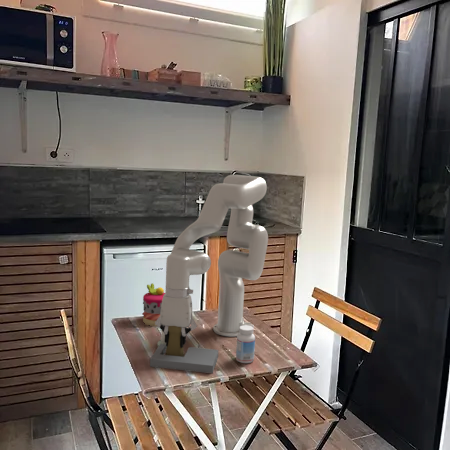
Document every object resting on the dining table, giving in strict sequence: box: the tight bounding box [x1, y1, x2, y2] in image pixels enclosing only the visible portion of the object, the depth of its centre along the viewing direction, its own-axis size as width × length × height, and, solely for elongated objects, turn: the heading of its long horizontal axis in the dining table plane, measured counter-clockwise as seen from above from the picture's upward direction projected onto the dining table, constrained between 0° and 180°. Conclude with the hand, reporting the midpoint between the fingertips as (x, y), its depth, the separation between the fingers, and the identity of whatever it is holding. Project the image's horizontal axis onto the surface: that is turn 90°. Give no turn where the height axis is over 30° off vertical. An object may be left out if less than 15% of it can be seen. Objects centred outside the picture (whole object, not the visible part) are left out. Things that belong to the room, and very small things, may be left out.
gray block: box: [149, 344, 219, 374], centre depth 149 cm, size 20×12×2 cm, turn 83°
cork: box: [165, 326, 185, 357], centre depth 151 cm, size 6×6×11 cm
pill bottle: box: [235, 325, 256, 364], centre depth 152 cm, size 6×6×11 cm
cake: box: [142, 282, 165, 327], centre depth 182 cm, size 10×11×15 cm
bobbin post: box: [157, 330, 167, 349], centre depth 160 cm, size 6×6×10 cm
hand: (175, 344), depth 151 cm, fingers closed on cork, 4 cm apart
